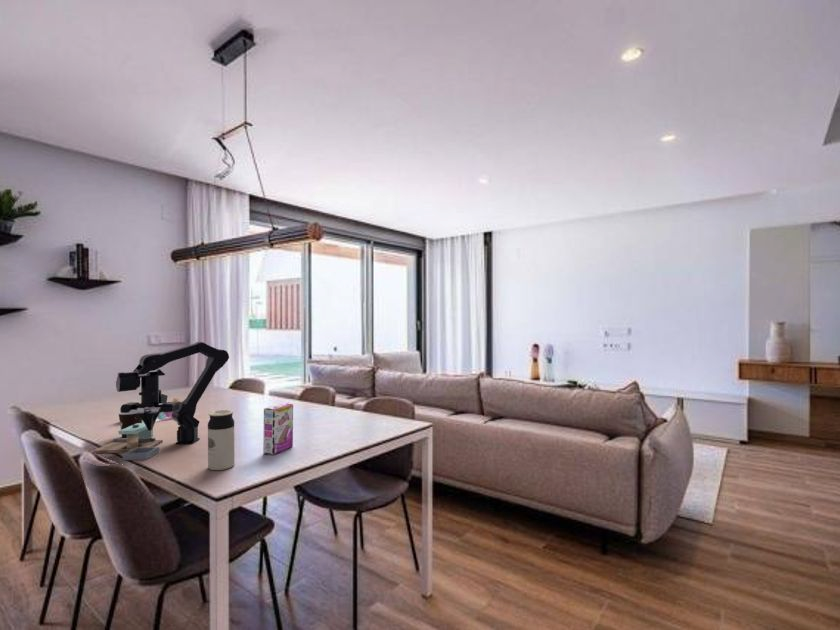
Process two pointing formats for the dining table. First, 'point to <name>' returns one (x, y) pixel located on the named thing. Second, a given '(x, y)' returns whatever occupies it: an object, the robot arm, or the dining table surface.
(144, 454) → the slate tray
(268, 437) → the candy bar box
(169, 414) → the pastel sphere sculpture
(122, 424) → the coffee mug
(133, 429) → the teal lid
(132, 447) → the maple peg
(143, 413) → the robot arm
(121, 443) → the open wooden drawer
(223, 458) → the travel mug
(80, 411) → the dining table surface
